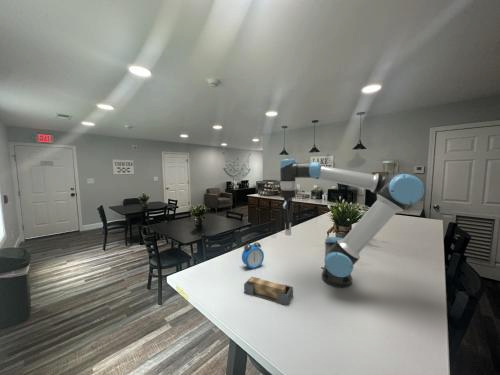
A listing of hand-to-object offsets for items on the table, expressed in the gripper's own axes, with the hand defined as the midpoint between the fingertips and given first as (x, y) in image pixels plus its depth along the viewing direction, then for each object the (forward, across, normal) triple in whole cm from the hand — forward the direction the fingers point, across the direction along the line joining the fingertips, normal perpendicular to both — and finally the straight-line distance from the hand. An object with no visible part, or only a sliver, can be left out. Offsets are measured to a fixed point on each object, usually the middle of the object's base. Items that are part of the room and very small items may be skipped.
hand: (288, 235), depth 104 cm
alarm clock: (+27, -10, -26) cm, 39 cm away
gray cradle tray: (+26, +13, -6) cm, 30 cm away
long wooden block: (+26, +13, -7) cm, 30 cm away
